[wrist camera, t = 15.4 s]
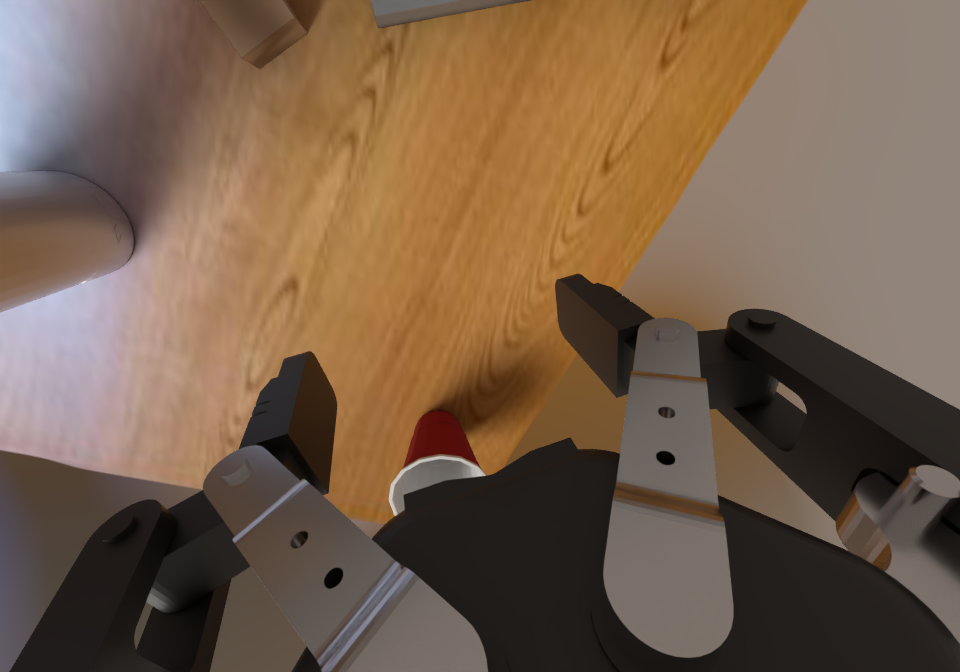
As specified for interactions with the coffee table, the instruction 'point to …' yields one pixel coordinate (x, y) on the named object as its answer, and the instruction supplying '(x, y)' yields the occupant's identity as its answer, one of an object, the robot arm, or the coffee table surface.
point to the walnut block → (256, 27)
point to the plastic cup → (434, 457)
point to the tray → (426, 9)
